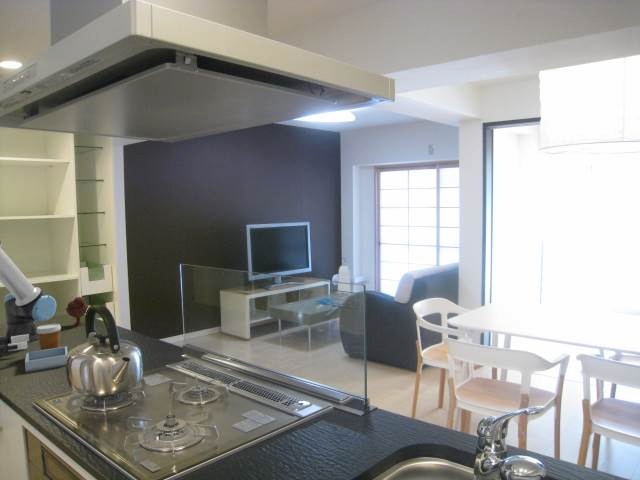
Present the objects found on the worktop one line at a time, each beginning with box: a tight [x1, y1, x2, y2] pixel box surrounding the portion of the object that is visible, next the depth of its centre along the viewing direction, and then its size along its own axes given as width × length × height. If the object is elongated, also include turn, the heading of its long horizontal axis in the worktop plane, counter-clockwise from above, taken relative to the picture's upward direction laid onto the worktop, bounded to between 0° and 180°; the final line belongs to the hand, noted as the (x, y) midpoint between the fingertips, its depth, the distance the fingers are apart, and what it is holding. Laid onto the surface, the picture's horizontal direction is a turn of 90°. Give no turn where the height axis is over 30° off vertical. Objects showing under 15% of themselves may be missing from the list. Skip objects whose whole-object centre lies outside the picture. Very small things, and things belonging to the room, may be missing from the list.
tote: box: [24, 346, 69, 373], centre depth 201 cm, size 15×15×4 cm
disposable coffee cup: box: [36, 323, 62, 350], centre depth 214 cm, size 10×10×12 cm
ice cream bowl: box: [65, 296, 90, 327], centre depth 266 cm, size 11×11×15 cm
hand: (28, 341), depth 210 cm, fingers open, 13 cm apart
